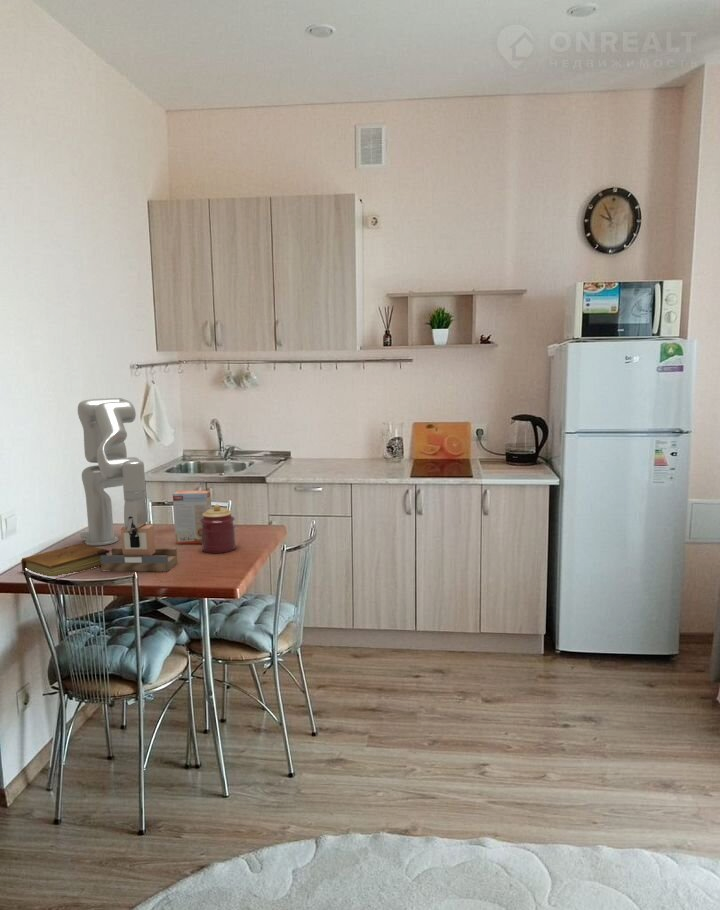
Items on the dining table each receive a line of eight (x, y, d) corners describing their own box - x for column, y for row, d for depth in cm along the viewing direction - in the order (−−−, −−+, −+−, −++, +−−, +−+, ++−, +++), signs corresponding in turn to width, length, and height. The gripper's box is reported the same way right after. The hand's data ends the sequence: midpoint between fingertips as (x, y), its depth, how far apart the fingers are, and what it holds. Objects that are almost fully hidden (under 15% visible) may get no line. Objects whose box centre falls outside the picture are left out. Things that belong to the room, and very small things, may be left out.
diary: (80, 557, 275) (79, 543, 274) (110, 565, 264) (109, 550, 263) (22, 573, 256) (21, 557, 256) (51, 581, 245) (49, 565, 245)
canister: (207, 544, 287) (204, 501, 284) (239, 544, 286) (237, 500, 283) (198, 553, 274) (195, 508, 271) (231, 553, 273) (229, 508, 271)
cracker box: (213, 540, 293) (211, 489, 290) (209, 544, 287) (206, 492, 284) (180, 540, 295) (177, 490, 292) (175, 544, 289) (172, 492, 286)
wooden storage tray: (101, 571, 254) (99, 556, 253) (114, 562, 265) (112, 548, 264) (167, 571, 252) (166, 556, 251) (177, 563, 262) (176, 548, 262)
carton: (128, 552, 261) (126, 525, 259) (155, 552, 260) (153, 525, 258) (122, 556, 256) (120, 528, 254) (150, 556, 255) (148, 528, 253)
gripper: (134, 490, 263) (137, 539, 266) (114, 500, 247) (118, 551, 249) (154, 490, 263) (157, 539, 265) (135, 500, 246) (139, 551, 248)
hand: (138, 544), depth 257 cm, fingers closed on carton, 5 cm apart
